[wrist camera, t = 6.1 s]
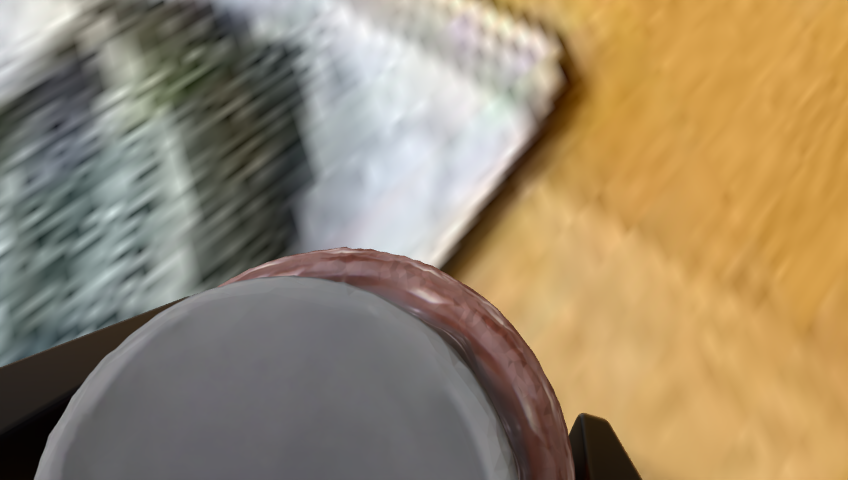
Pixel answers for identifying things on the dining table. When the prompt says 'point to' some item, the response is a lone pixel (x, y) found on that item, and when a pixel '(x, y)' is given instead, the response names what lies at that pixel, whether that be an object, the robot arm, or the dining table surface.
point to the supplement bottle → (318, 384)
